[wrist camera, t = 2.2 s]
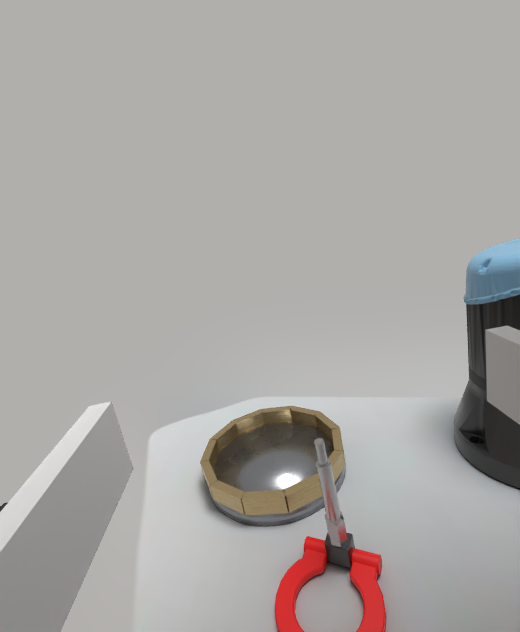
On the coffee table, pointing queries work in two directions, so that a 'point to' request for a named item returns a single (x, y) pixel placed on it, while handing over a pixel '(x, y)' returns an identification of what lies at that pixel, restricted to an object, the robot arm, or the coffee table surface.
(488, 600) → the coffee table surface
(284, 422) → the wooden rimmed bowl
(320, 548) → the tow hook
